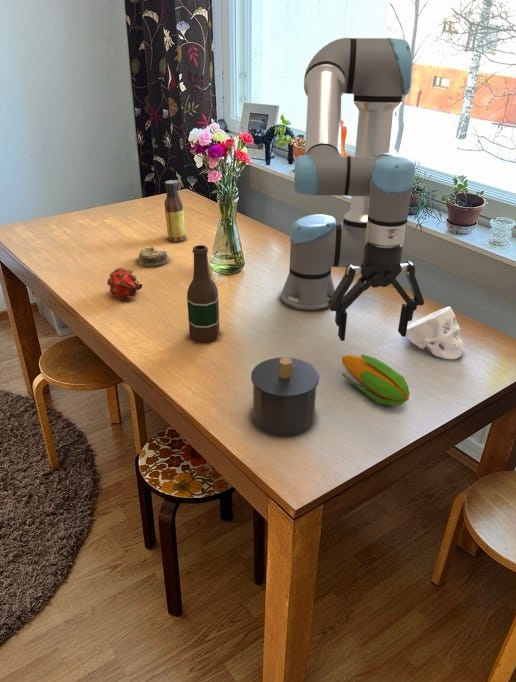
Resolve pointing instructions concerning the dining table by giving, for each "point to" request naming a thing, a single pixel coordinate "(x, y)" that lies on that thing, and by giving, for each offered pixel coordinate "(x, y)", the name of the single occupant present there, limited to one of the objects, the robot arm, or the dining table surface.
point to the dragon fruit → (123, 283)
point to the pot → (283, 413)
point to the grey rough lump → (152, 257)
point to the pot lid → (285, 377)
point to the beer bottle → (202, 300)
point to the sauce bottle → (174, 213)
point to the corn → (377, 379)
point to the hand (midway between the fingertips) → (371, 335)
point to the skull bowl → (437, 333)
